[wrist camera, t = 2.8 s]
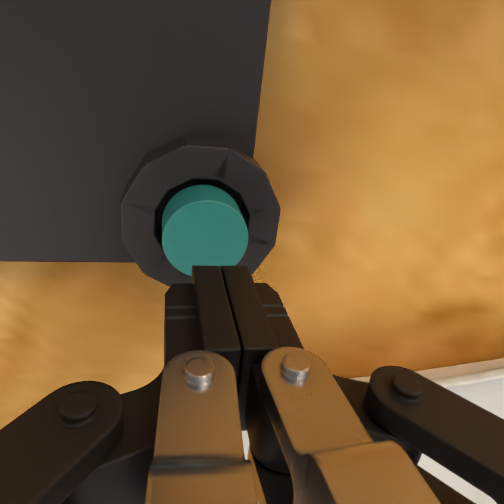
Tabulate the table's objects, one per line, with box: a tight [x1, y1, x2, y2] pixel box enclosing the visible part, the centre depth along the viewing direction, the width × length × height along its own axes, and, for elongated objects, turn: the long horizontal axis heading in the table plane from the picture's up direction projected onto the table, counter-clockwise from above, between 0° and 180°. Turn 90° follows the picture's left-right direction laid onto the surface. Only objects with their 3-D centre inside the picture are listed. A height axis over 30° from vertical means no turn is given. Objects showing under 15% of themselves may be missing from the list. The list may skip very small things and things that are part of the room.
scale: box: [0, 0, 280, 287], centre depth 14 cm, size 14×13×3 cm
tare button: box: [162, 185, 248, 276], centre depth 15 cm, size 3×3×2 cm
